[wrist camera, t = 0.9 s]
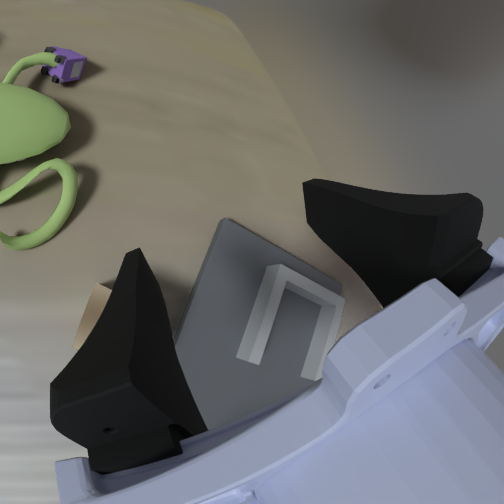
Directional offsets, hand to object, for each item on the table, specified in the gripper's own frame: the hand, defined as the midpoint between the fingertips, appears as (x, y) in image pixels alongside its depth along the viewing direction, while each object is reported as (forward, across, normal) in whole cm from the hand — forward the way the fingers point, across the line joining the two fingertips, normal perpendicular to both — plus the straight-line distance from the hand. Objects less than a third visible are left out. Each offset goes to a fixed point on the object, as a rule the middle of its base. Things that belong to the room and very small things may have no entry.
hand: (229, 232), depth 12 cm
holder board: (+4, +1, +16) cm, 16 cm away
